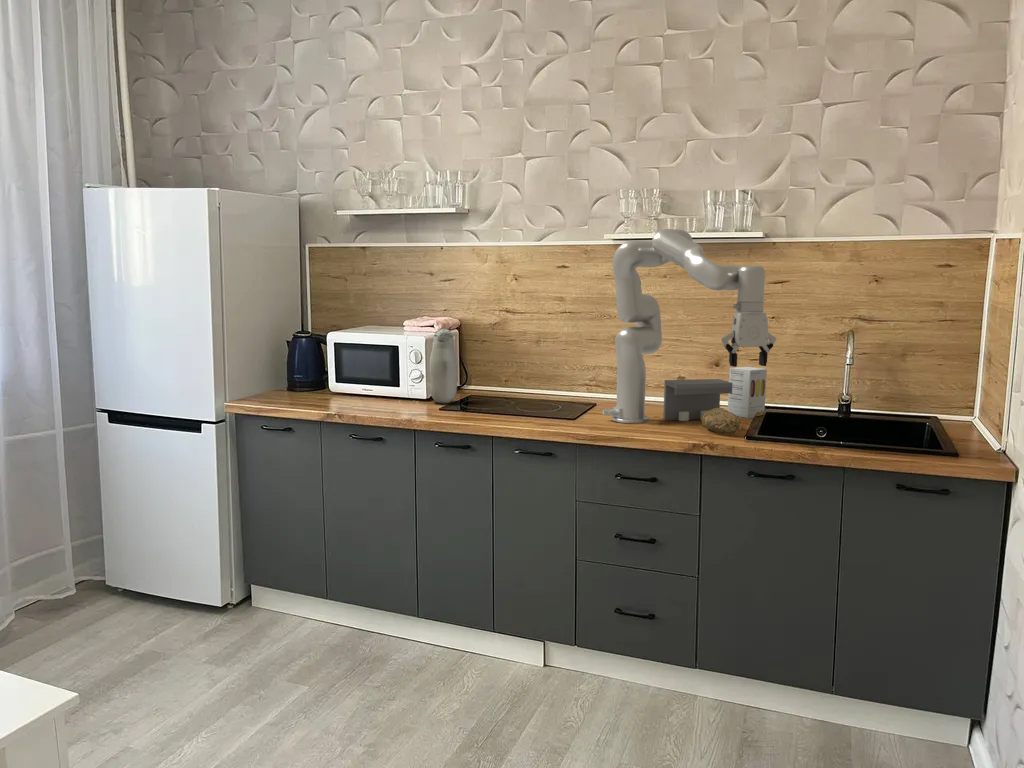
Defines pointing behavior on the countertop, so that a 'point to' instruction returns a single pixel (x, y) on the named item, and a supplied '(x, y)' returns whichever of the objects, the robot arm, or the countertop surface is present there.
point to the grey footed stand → (692, 397)
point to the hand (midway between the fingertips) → (747, 365)
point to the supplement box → (747, 391)
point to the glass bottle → (443, 367)
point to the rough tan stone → (721, 421)
